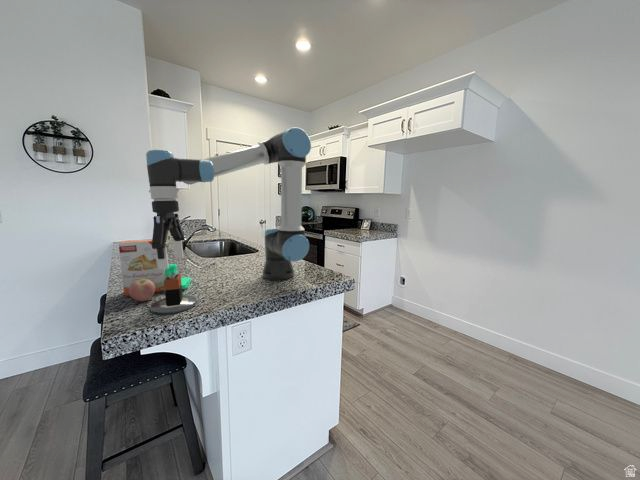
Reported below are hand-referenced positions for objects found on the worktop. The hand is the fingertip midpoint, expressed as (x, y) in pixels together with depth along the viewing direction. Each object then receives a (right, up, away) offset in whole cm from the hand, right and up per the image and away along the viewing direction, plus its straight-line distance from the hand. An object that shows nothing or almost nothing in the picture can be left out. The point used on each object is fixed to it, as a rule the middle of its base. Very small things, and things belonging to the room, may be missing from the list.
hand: (172, 263), depth 90 cm
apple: (-14, -14, +7) cm, 21 cm away
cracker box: (-19, -13, +16) cm, 28 cm away
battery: (0, -14, +2) cm, 14 cm away
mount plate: (0, -15, +2) cm, 15 cm away
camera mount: (-9, -12, +22) cm, 27 cm away
